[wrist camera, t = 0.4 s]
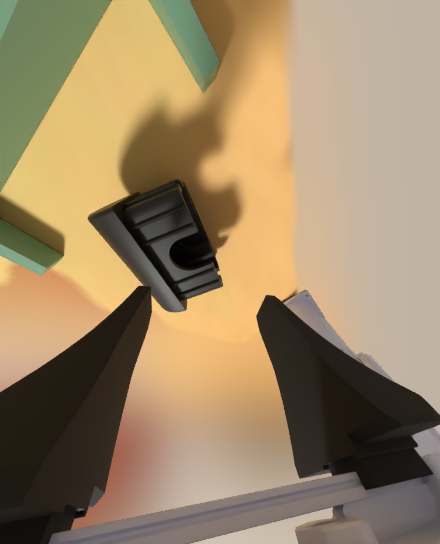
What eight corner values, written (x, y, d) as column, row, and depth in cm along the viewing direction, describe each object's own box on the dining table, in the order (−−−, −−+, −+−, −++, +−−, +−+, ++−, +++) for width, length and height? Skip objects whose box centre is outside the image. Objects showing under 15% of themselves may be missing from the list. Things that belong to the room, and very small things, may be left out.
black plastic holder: (111, 202, 15) (66, 226, 10) (180, 172, 15) (172, 180, 9) (166, 279, 21) (156, 322, 16) (217, 260, 21) (226, 297, 15)
